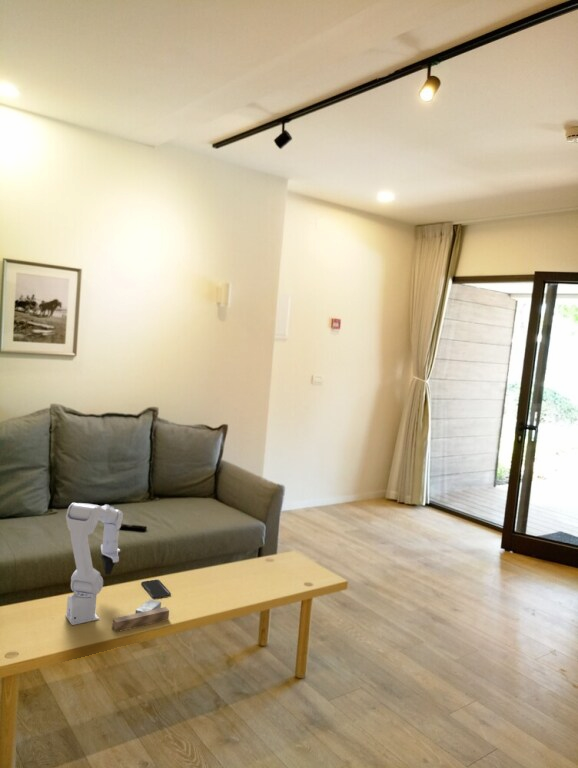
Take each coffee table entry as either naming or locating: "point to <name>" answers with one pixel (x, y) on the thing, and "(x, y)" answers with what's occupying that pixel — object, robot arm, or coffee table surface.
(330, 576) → the coffee table surface
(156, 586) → the phone
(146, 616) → the walnut bar
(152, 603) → the plate block
